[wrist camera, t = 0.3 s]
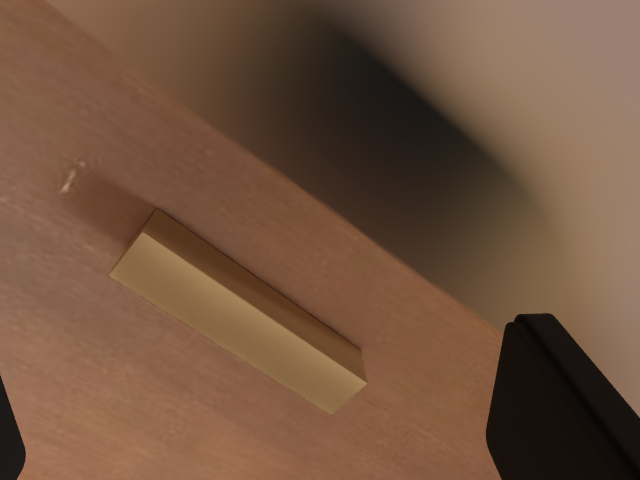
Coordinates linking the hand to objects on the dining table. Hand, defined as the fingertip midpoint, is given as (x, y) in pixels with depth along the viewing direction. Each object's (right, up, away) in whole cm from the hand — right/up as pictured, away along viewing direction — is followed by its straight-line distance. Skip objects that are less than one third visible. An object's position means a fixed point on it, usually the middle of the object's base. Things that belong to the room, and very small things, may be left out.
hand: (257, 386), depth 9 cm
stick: (-2, 0, +15) cm, 15 cm away
